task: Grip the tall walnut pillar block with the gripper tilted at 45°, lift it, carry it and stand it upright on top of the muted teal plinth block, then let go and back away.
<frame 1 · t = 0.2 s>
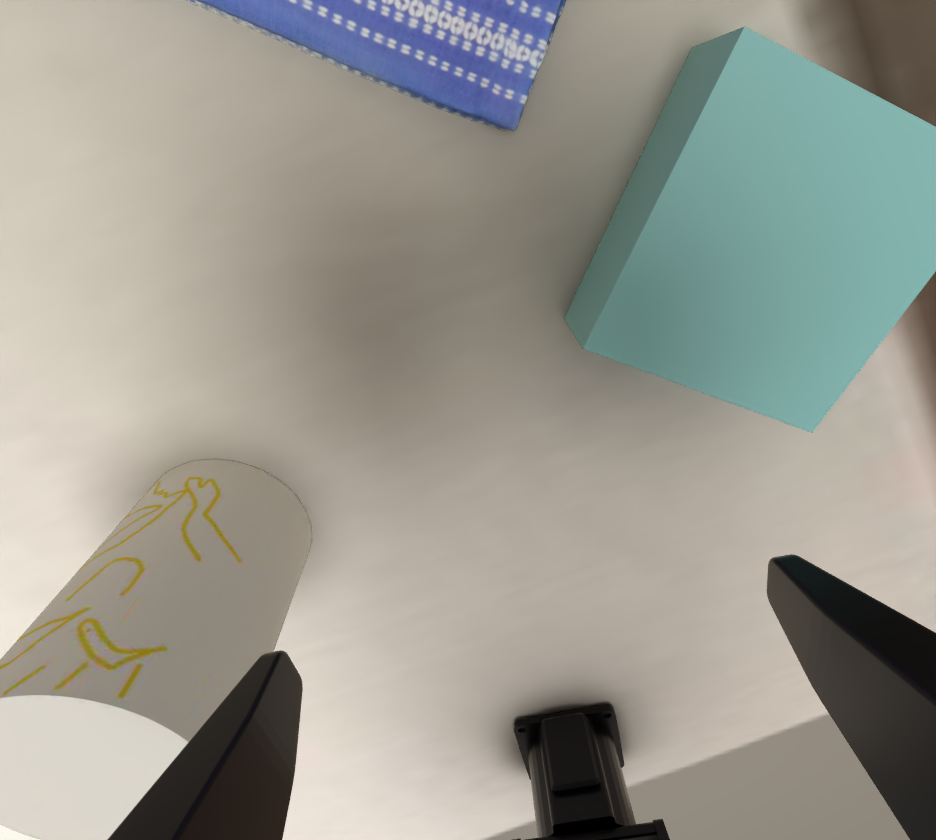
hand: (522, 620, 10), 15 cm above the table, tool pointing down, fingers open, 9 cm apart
teal plinth: (728, 244, 21), on the table
cup: (231, 525, 27), on the table
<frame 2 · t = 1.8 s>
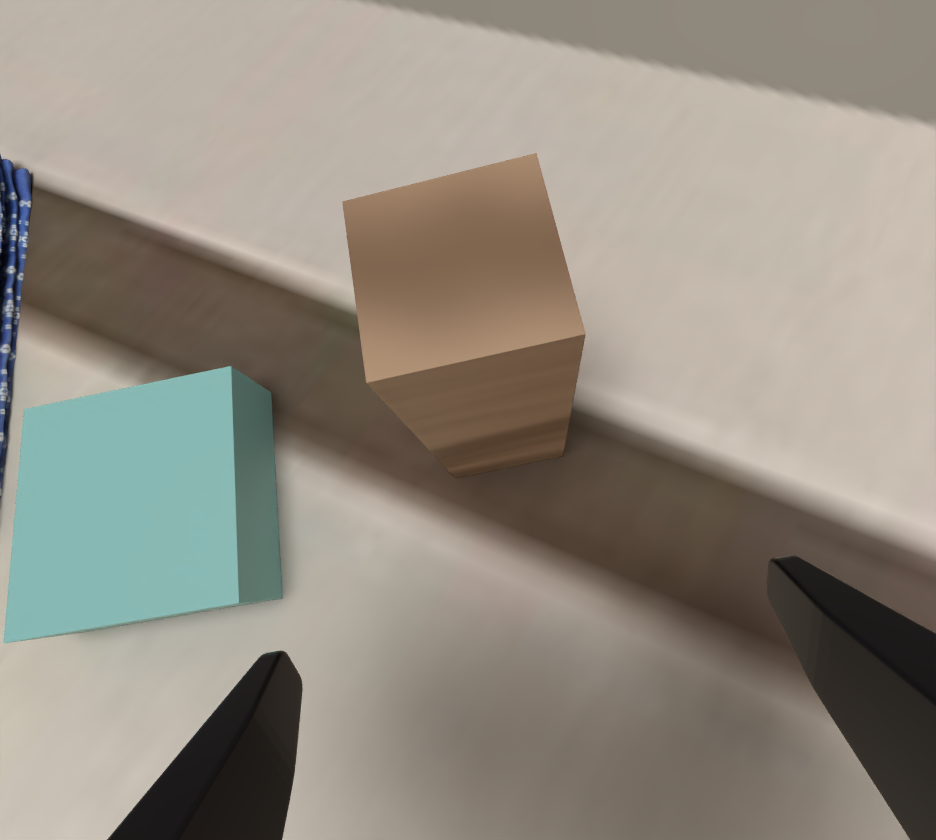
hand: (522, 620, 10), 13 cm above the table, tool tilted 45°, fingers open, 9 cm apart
walnut pillar: (498, 415, 25), on the table
teal plinth: (183, 508, 26), on the table
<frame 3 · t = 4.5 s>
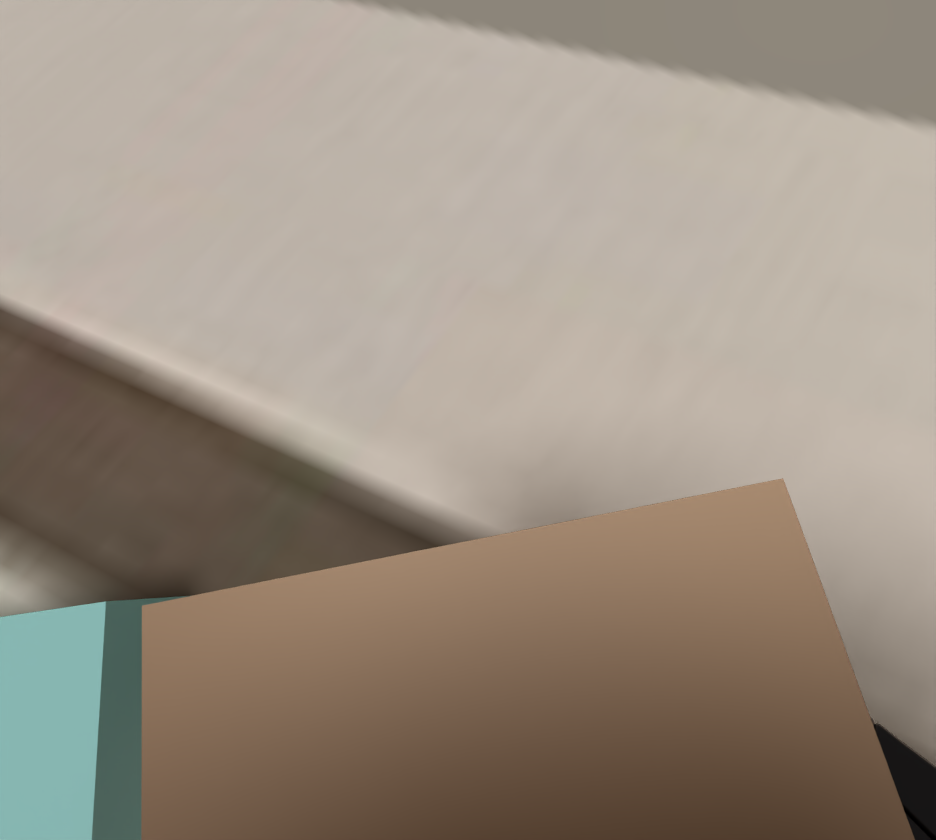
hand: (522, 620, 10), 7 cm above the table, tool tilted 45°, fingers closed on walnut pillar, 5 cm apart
walnut pillar: (539, 652, 16), on the table, touching gripper
teal plinth: (48, 781, 17), on the table
when the fingers open (12 cm above the table, at t = 8.6 s): walnut pillar drops 2 cm, point 4 cm above the table.
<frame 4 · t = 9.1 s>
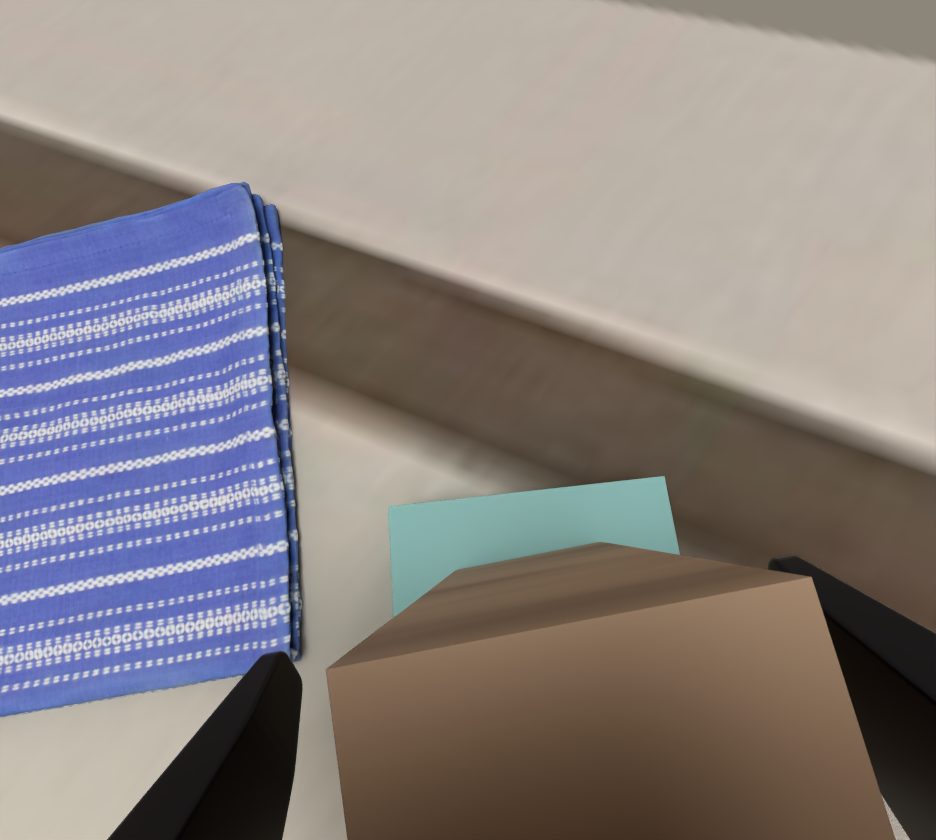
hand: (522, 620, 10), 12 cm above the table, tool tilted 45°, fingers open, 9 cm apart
walnut pillar: (544, 632, 18), point 4 cm above the table, tilted 5°
teal plinth: (540, 628, 22), on the table
dish towel: (139, 437, 27), on the table
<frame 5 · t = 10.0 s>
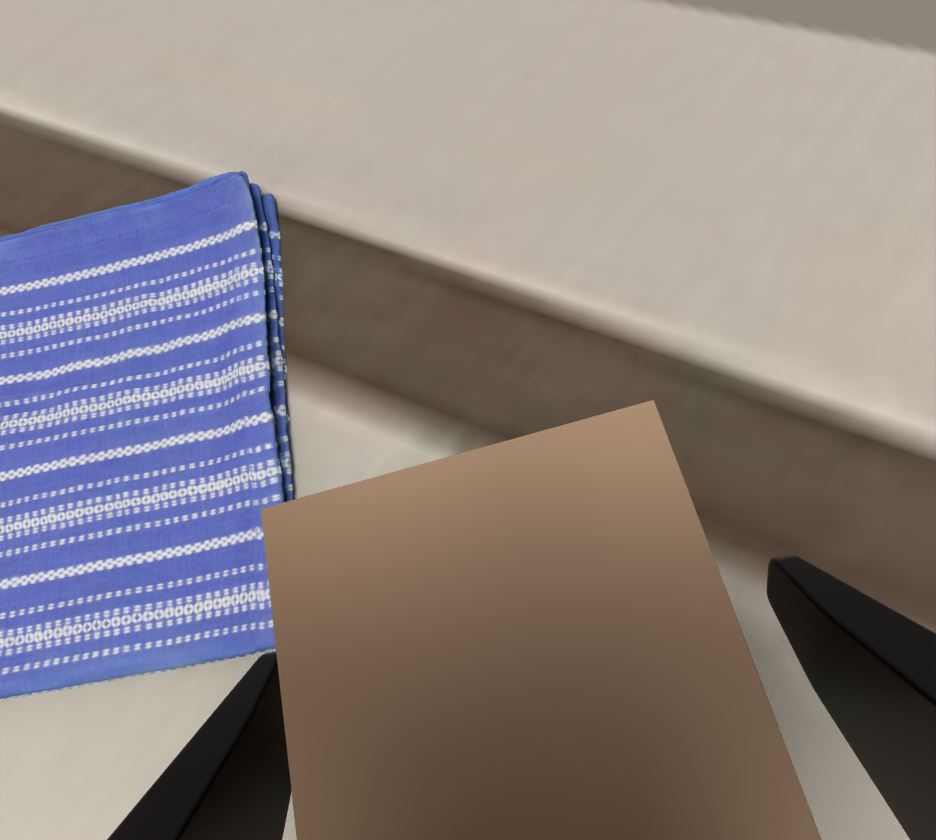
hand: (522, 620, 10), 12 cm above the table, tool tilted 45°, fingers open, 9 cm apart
walnut pillar: (539, 613, 18), point 4 cm above the table
dish towel: (138, 424, 27), on the table
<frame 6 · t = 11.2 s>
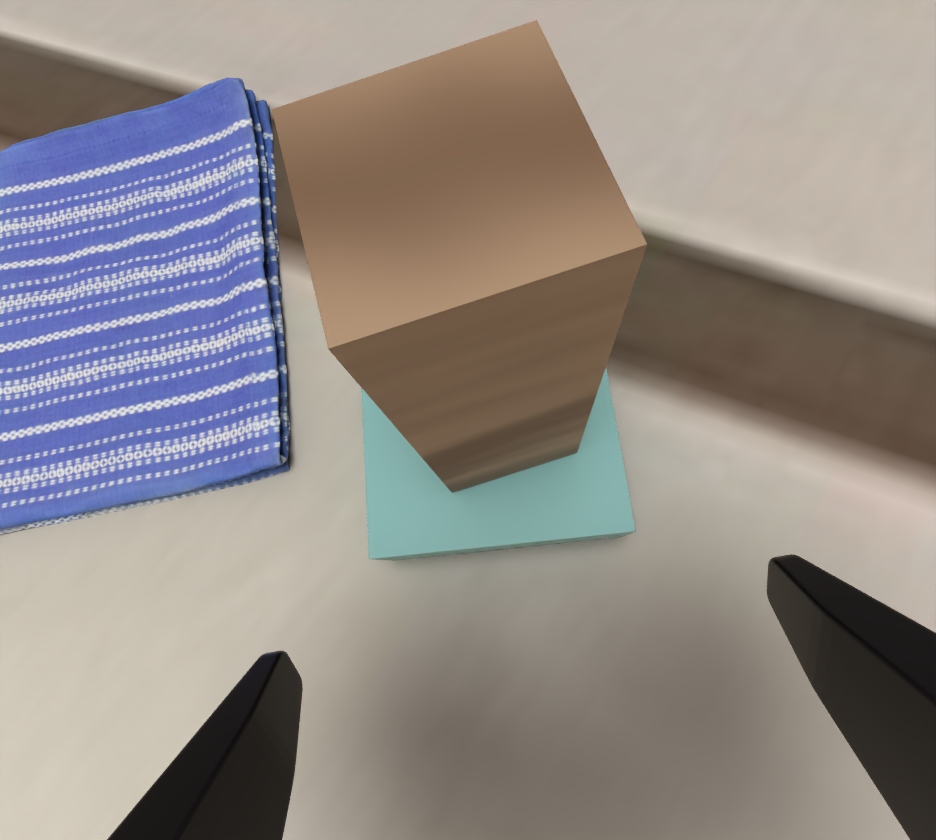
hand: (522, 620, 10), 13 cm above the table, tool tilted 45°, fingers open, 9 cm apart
walnut pillar: (494, 413, 21), point 4 cm above the table, touching teal plinth
teal plinth: (493, 440, 25), on the table, touching walnut pillar
dish towel: (146, 303, 30), on the table
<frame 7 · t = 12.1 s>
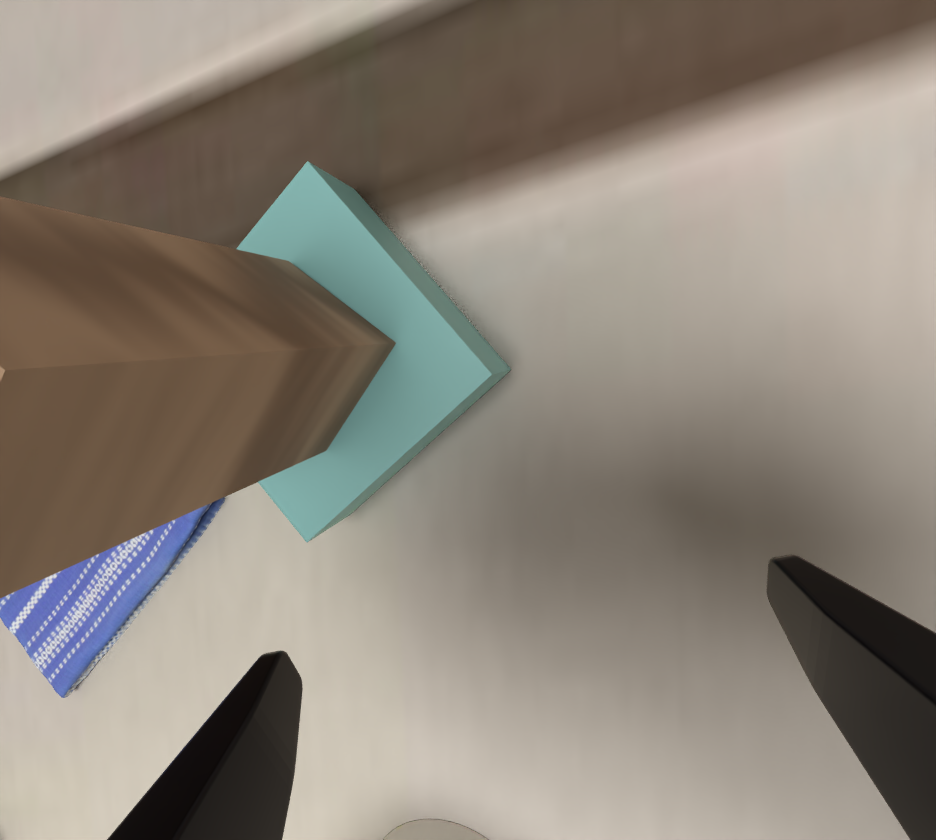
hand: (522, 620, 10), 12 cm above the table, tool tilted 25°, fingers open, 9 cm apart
walnut pillar: (307, 358, 20), point 4 cm above the table
teal plinth: (356, 359, 24), on the table
dish towel: (24, 441, 30), on the table
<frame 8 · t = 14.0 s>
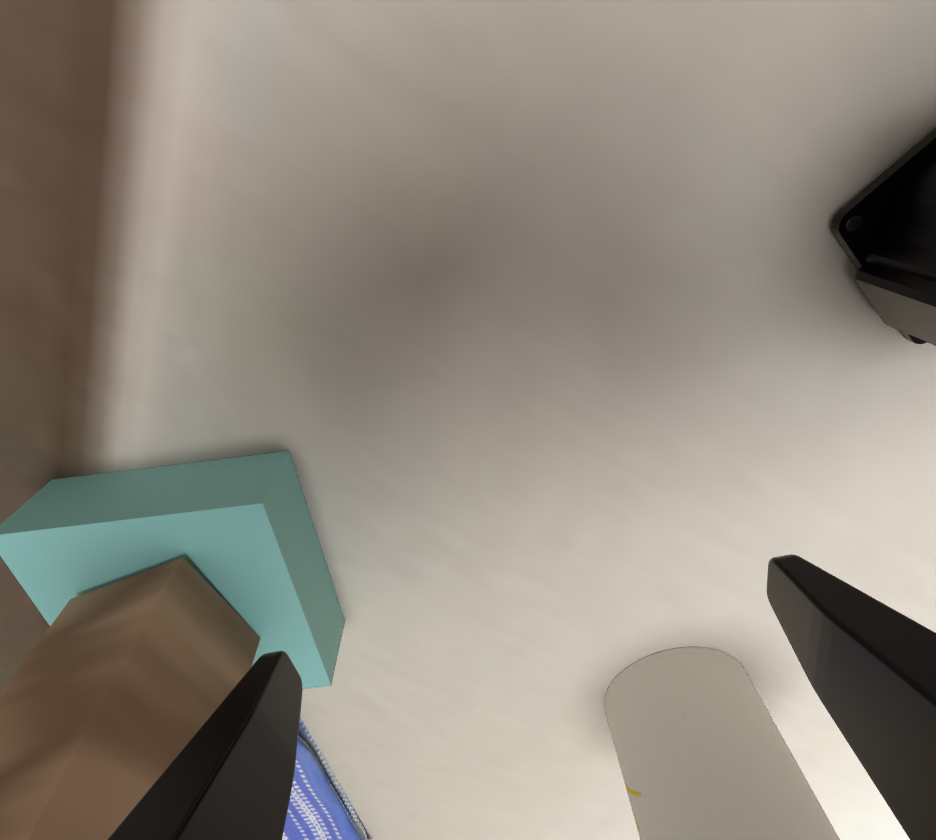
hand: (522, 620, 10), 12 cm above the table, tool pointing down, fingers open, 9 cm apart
walnut pillar: (169, 619, 21), point 4 cm above the table
teal plinth: (215, 549, 25), on the table
dish towel: (157, 786, 34), on the table
cup: (674, 692, 30), on the table
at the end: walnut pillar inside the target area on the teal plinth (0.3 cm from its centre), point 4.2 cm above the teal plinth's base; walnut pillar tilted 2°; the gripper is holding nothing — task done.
